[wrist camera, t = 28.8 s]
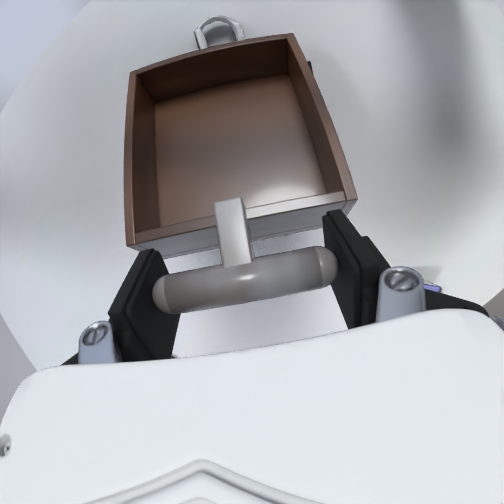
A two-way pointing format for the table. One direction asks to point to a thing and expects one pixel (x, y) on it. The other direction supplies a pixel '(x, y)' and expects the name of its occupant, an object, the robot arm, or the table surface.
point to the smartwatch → (198, 32)
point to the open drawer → (232, 171)
